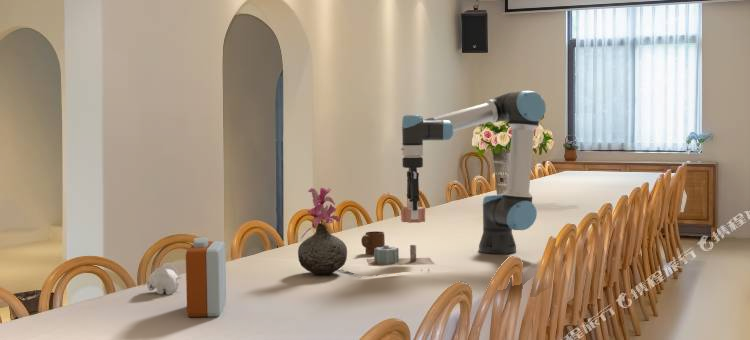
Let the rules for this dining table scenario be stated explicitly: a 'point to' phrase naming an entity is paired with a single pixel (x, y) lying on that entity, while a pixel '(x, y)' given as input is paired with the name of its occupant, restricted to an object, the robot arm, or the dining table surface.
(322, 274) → the vase
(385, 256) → the gear
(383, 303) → the dining table surface
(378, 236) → the mug
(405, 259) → the gear board
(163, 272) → the elephant figurine
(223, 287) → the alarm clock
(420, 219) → the gear
